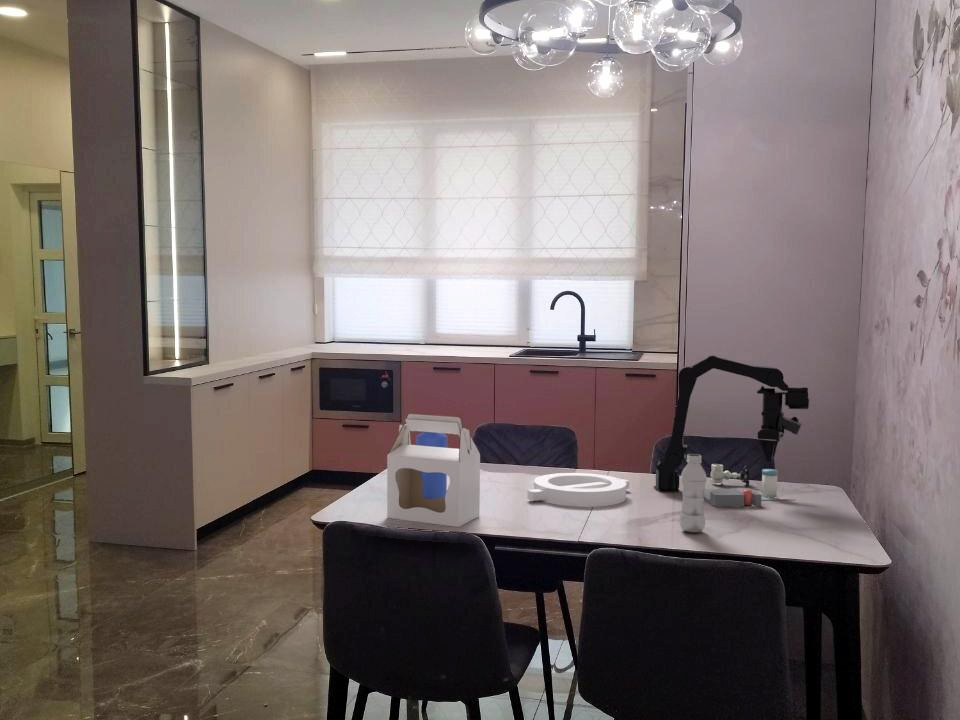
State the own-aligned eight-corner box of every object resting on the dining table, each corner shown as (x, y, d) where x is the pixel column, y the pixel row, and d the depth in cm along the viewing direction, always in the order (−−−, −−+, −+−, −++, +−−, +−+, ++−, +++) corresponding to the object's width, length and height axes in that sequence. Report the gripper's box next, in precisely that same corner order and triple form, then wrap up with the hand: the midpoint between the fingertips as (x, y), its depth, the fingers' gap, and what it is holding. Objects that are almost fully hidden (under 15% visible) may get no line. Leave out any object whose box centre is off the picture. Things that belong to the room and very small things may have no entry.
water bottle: (409, 500, 250) (410, 416, 249) (426, 494, 258) (426, 413, 257) (436, 504, 246) (437, 419, 244) (452, 498, 254) (453, 415, 252)
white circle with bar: (524, 503, 249) (525, 488, 249) (543, 484, 276) (544, 470, 276) (620, 511, 242) (620, 494, 241) (630, 490, 269) (630, 476, 268)
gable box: (385, 518, 230) (386, 415, 228) (409, 507, 242) (410, 410, 240) (459, 527, 220) (460, 421, 219) (480, 516, 232) (481, 415, 231)
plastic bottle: (700, 528, 222) (702, 453, 220) (708, 535, 215) (710, 457, 214) (676, 528, 221) (678, 452, 220) (683, 535, 215) (685, 457, 213)
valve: (711, 486, 275) (749, 488, 273) (712, 466, 275) (750, 467, 273) (708, 482, 282) (746, 483, 280) (709, 462, 281) (746, 464, 280)
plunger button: (744, 504, 247) (744, 491, 247) (740, 502, 250) (741, 489, 250) (753, 504, 248) (753, 491, 247) (749, 502, 250) (749, 489, 250)
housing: (714, 506, 246) (715, 495, 246) (692, 492, 265) (692, 481, 265) (761, 506, 247) (761, 494, 247) (735, 492, 267) (735, 481, 266)
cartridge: (776, 498, 257) (777, 472, 257) (760, 496, 259) (761, 470, 259) (778, 495, 261) (778, 469, 261) (762, 493, 263) (763, 468, 263)
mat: (756, 500, 255) (757, 499, 255) (744, 493, 265) (744, 492, 265) (795, 500, 256) (795, 499, 256) (781, 493, 266) (781, 492, 266)
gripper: (797, 413, 247) (796, 466, 248) (802, 406, 264) (801, 456, 265) (758, 411, 251) (756, 463, 252) (765, 404, 268) (763, 453, 269)
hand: (770, 459), depth 260 cm, fingers open, 9 cm apart
